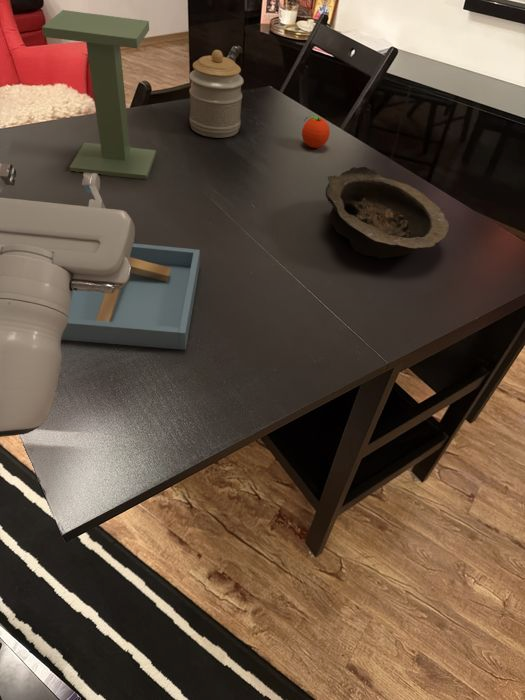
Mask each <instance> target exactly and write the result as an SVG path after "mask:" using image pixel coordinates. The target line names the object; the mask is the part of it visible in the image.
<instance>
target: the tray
mask: <svg viewBox="0 0 525 700" xmlns="http://www.w3.org/2000/svg"><path fill="white" fill-rule="evenodd" d="M130 257H132V258H135V259H139V260H143V261H147V262H150V263H154V264H158V265H162V266H165V267H169V268H171V270H170V274H169V278H168V282H165V281H161V280H157V279H153V278H149V277H145V276H142V275H138V274H134V273H130V279H129V281H128V283H127V285H126V286H124V287H123V288H121V291H120V294H119V297H118V300H117V303H116V306H115V309H114V312H113V315H112V318H111V321H110V322H106V321H96V318H97V315H98V312H99V310H100V307H101V304H102V301H103V298H104V296H105V293H102V292H98V291H75V290H73V294H72V300H71V306H70V312H69V318H68V323H67V326H66V328H65V330H64V332H63V334H62V337H61V341H72V342H85V343H98V344H110V345H119V346H120V345H123V346H135V347H144V348H145V347H146V348H156V349H157V348H159V349H172V350H183V351H186V350H187V344H188V338H189V332H190V326H191V320H192V314H193V309H194V303H195V298H196V297H195V296H196V292H197V291H196V290H197V286H198V285H197V283H198V279H199V272H200V266H201V265H200V264H201V250H200V249H196V248H195V249H194V248H185V247H175V246H166V245H154V244H143V243H135V242H134V243H133V247H132V251H131V254H130Z"/></svg>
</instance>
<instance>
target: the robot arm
mask: <svg viewBox="0 0 525 700" xmlns="http://www.w3.org/2000/svg"><path fill="white" fill-rule="evenodd" d="M13 166H14V165H13V164H11V163H2V162H0V194H1V193H2V191H3V190H4V189H5V188H6V187H7V186H15V183H16V180H15V178H16V177H17V170H16V169H15V167H13ZM82 177H83V178H82V180H81V187H82V188H83V189H84V193H85V194H89V195H90V194H91V195H92V196H93V198H94V199H93V198H90V199H89V200H88V205H87V206H86V205H85V206H84V205H76V204H65V203H57V202H46V201H39V200H38V201H37V200H28V199H27V200H26V199H18V198H9V197H8V198H7V197H0V438H3V437H4V438H5V437H13V436H22V435H23V436H24V435H26V434H29V433H31V432H34V431H35V430H37V429H39V428H40V426H42V425H43V424H44V423H45V422H46V420H47V418H48V417H49V414H50V411H51V409H52V406H53V403H54V402H53V401H54V399H55V395H56V391H57V387H58V383H59V378H60V372H61V365H62V362H63V354H62V347H61V346H62V344H61V343H62V340H61V337H62V334H63V332H64V330H65V328H66V326H67V323H68V318H69V312H70V306H71V300H72V294H73V290H75V291H98V292H102V293H114V290H119V289H121V288H123V287H124V286H126V285H127V283H128V281H129V279H130V272H131V263H130V260H129V257H130V254H131V251H132V247H133V243H134V244H135V236H136V226H135V223H134V222H133V221H134V220H133V218H131V216H130V215H129V214H128V212H127V211H126V210H123V209H115V208H106V206H105V203H104V201H103V199H102V197H101V195H100V189H101V188H100V187H101V178H100V176H99V175H98V174H96V173H87V172H84V173H82ZM114 285H119V286H114Z"/></svg>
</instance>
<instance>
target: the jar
mask: <svg viewBox="0 0 525 700" xmlns="http://www.w3.org/2000/svg"><path fill="white" fill-rule="evenodd" d="M192 69H193V70H192V71H191V72H190V73H189V75H188V77H189V80H190V81H191V84H190V88H189V90H188V92H189V116H188V117H189V124H190V128H191V129H192V131H193V132H194V133H196V134H198V135H201V136H204V137H207V138H215V139H223V138H229V137H233V136H235V135H237V134H238V133H239V132H240V128H241V124H242V123H241V122H242V119H241V113H242V99H243V92H242V85H243V84H244V82H245V81H244V78H243V77H242V75H240V73H241V71H242V69H241V67H240V65H238V64H237V63H236V62H235V61H234V60H233V59H231V58H229V57H226V56H224V54H223V52H222V51H221V50H220V49H214V50H213V51H212V52H211V55H203V56H201V57H199V58H198V59H197V60H195V61H194V62H193V63H192Z"/></svg>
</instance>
